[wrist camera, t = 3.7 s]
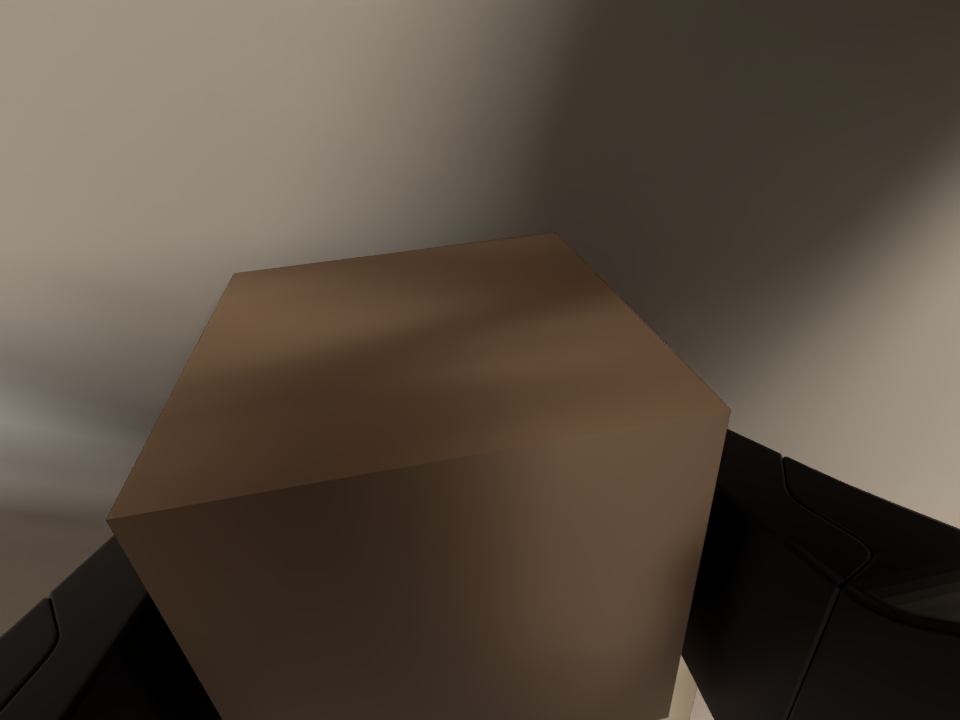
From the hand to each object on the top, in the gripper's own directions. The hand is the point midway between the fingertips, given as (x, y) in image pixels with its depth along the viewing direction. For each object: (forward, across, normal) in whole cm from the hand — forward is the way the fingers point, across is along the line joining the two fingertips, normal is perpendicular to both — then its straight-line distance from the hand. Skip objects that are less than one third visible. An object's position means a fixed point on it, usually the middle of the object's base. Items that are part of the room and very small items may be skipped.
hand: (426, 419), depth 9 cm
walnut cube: (+1, 0, 0) cm, 1 cm away
